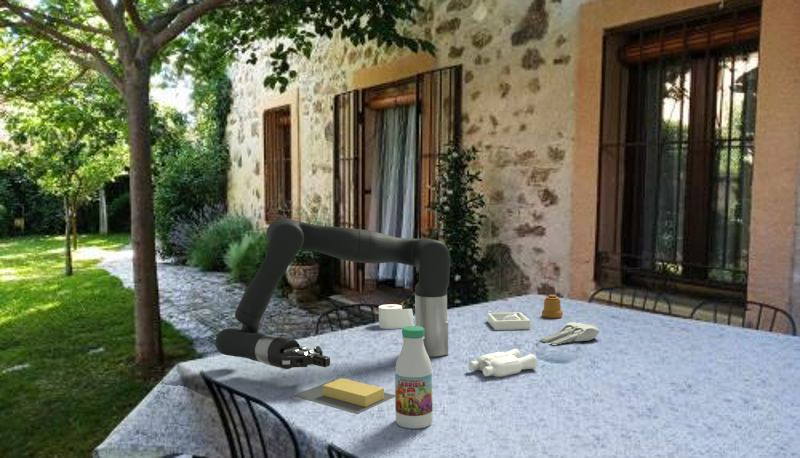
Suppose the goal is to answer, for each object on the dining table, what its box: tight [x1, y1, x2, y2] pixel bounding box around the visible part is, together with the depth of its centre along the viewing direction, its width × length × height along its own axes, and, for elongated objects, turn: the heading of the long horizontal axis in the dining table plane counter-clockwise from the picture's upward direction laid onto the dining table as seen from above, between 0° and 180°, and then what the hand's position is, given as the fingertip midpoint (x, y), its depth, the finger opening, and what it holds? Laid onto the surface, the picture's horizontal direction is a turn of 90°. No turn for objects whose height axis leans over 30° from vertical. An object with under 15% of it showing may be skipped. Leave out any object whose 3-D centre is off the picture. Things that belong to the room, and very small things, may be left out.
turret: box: [539, 321, 600, 345], centre depth 194 cm, size 10×20×5 cm, turn 117°
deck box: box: [323, 377, 385, 407], centre depth 143 cm, size 2×6×13 cm
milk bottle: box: [394, 325, 434, 430], centre depth 128 cm, size 8×8×20 cm
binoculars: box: [468, 348, 539, 378], centre depth 164 cm, size 10×16×5 cm, turn 121°
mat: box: [292, 379, 395, 415], centre depth 145 cm, size 20×14×1 cm
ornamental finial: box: [541, 294, 564, 319], centre depth 227 cm, size 8×8×8 cm
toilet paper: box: [378, 303, 414, 330], centre depth 216 cm, size 8×11×7 cm
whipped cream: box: [503, 312, 521, 320], centre depth 214 cm, size 8×7×5 cm
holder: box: [486, 311, 531, 331], centre depth 215 cm, size 12×13×3 cm
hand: (327, 362), depth 146 cm, fingers closed
